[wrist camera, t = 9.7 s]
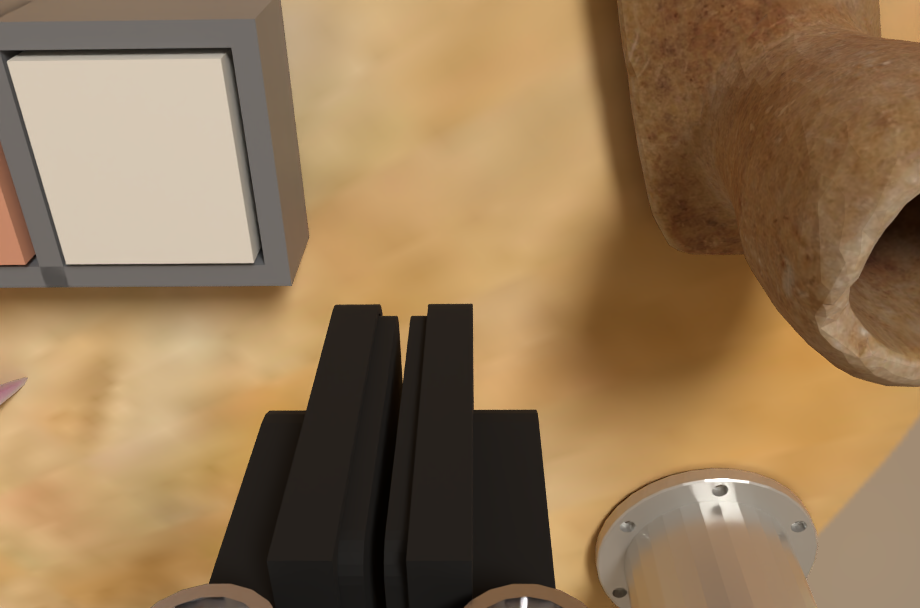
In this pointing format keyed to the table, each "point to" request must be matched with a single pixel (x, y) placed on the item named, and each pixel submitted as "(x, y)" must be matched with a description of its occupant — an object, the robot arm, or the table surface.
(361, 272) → the table surface
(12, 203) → the key terracotta
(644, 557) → the robot arm
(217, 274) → the key console
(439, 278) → the table surface
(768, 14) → the brown boot
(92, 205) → the key white
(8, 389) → the lily
